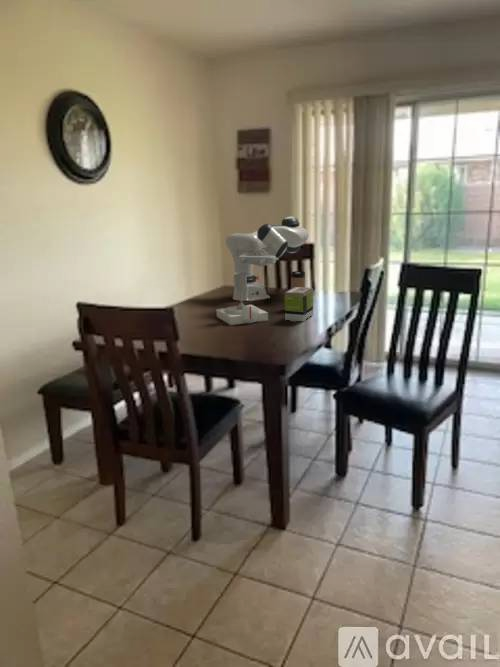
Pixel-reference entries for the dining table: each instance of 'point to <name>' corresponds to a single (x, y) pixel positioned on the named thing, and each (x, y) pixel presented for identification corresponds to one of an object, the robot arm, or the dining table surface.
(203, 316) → the dining table surface
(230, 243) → the robot arm
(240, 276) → the chalice
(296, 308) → the tea box
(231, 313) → the dial scale
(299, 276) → the travel mug
